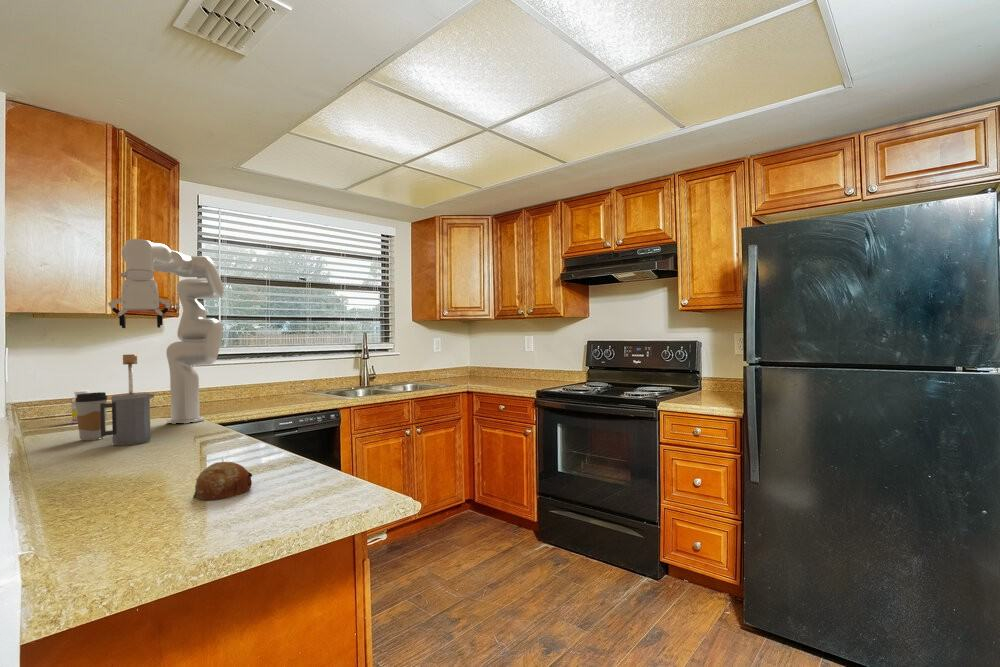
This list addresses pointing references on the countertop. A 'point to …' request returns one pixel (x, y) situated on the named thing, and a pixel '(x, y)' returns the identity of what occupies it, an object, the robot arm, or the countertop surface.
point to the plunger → (130, 368)
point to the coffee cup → (89, 414)
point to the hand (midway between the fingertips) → (141, 327)
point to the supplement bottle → (74, 408)
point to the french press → (128, 418)
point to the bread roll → (222, 481)
